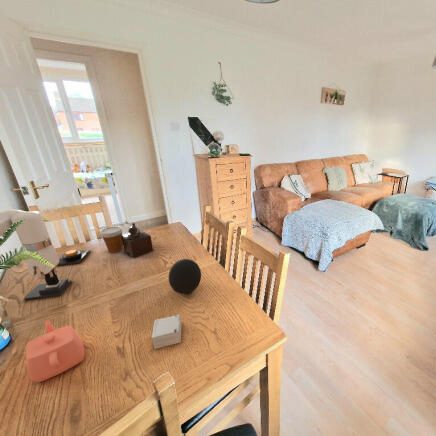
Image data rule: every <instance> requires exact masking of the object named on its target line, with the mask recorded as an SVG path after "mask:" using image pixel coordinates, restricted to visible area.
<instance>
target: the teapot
mask: <svg viewBox="0 0 436 436" xmlns="http://www.w3.org/2000/svg"><path fill="white" fill-rule="evenodd" d="M44 326H45V333H44V334H41V335H39V336H37V337H35V338H33V339H31V340H30V341H28V342H27V344H26V350H25V351H26V353H25V355H26V367H27V372H28V377H29V378H30V380H31V381H33V382H34V383H41V382H44V381H46V380H48V379H50V378H53V377H56V376H57V375H60V374H62V373H64V372H66V371H68V370H69V369H71V368H73V367H75V366H76V365H78V364H80V363H81V362H82V361H83V360H84V359H85V347H84V343H83V340H82V338H81V336H80V334H79V332H77V330H76V329H75V328H74V327H73V326H71V325H65V326H62V327H59V328H55V327H54V326H53V323H52V321H51V320H50V319H46V320H45V321H44Z"/></svg>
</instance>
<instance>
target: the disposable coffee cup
mask: <svg viewBox="0 0 436 436" xmlns="http://www.w3.org/2000/svg"><path fill="white" fill-rule="evenodd" d="M123 231H124V230H123V229H122V227H120V226H109V227H106V228H103V229H101V230H100V233H99V235H100V236H101V237H102V240H103V242H104V244H105V246H106V248H107V251H108V252H109V253H110V254H117V253H120V252H122V251H124V247H123V243H122V239H121V236H123Z"/></svg>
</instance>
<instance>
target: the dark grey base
mask: <svg viewBox="0 0 436 436" xmlns="http://www.w3.org/2000/svg"><path fill="white" fill-rule="evenodd" d="M59 281H61V283H60V284H59V285H58V286H57V287H52V288H45V287H46V286H47V283H46V282H44V283H38V284H37V285H36V286H35V287H34V288H32V289H31V291H29V293H27V295H26V296H25V297H24V298H23V300H24V302H26V301H34V300H42V299H49V298H59V297H61V296H62V295H63V294H64V292H65V291H66V290H67V289H68V288H69V287H70V285H72V280H71V279H68V278H61V279H60V278H59Z"/></svg>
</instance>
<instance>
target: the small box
mask: <svg viewBox="0 0 436 436" xmlns="http://www.w3.org/2000/svg"><path fill="white" fill-rule="evenodd" d="M152 328H153V329H152V335H151V340H152V344H153V349H154V350H157V349H160V348H165V347H169V346H172V345H176V344H179V343H181V341H182V321H181V315H180V314H176V315H172V316H167V317H162V318H157V319H154V323H153V327H152Z"/></svg>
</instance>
